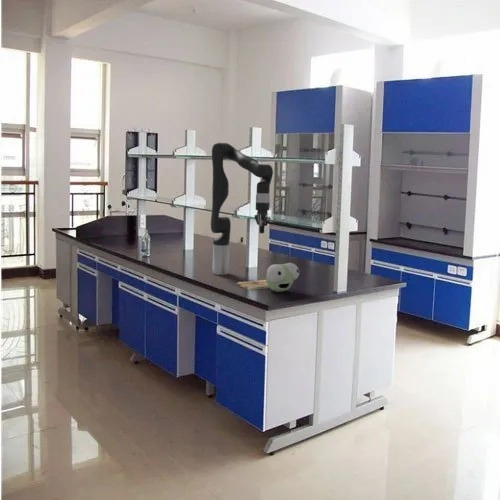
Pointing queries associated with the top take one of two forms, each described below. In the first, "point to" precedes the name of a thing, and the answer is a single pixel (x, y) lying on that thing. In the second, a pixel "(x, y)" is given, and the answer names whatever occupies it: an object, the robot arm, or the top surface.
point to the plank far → (260, 282)
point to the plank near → (246, 284)
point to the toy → (281, 276)
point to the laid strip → (257, 287)
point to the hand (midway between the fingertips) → (261, 233)
